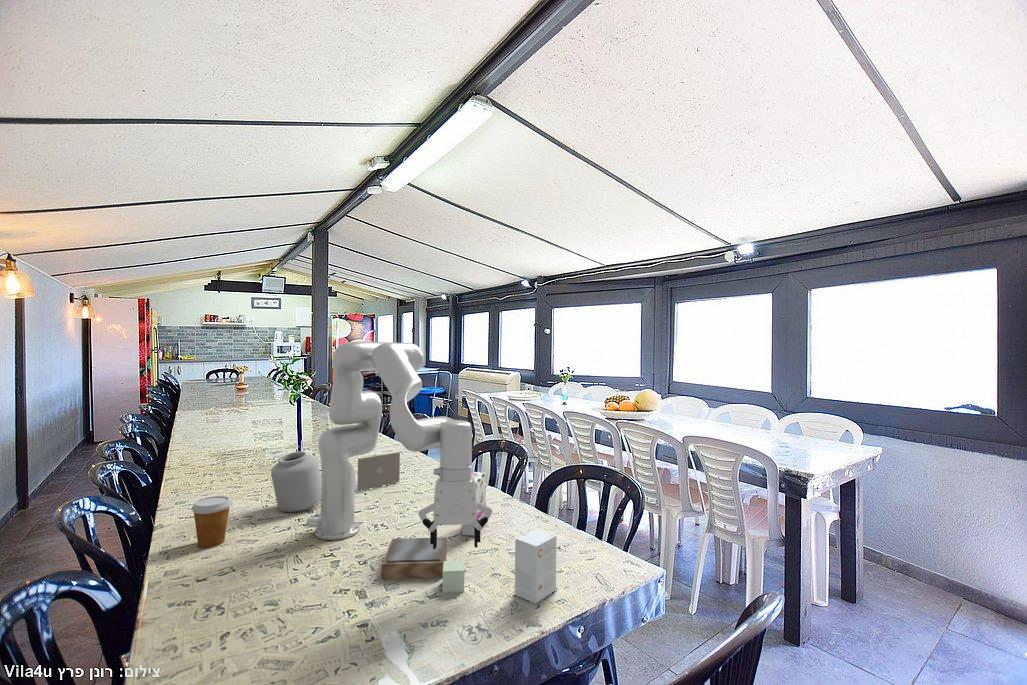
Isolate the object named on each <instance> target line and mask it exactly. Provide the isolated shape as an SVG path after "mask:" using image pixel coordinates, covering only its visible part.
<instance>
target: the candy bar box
mask: <svg viewBox="0 0 1027 685" xmlns="http://www.w3.org/2000/svg"><path fill="white" fill-rule="evenodd" d="M486 475H487V473H486V472H480V471H472V477H473V478H474V479H475V484H476V491H477V502H479V503H481V504H483V505H485V506H487V503H486V502H487V501H486V500H487V498H486V497H487V492H486V491H487V490H486V489H487V487H486V486H487V485H486V484H487V483H486V482H487V477H486ZM484 515H485V512H483V511H481V510H478V509H477V518H478V519H479V520H480V519H481V518H482V517H483V516H484ZM474 527H475V526H474V525H473V524H465V525H461V536H464V535H465V536H466V537H474ZM465 536H464V537H465Z"/></svg>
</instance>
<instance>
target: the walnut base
mask: <svg viewBox="0 0 1027 685" xmlns="http://www.w3.org/2000/svg"><path fill="white" fill-rule="evenodd" d="M447 552H448V537H447V536H446V537H437V547H436V548H435V549H433V544H430V537H413V538H412V537H410V538H409V537H408V538H392V539H391V541H390V543H389V545H388V549H387V551H386V552H385V553H386V554H385V556H384V559H383V561H382V563H381V580H396V579H398V580H399V579H426V578H427V579H428V578H429V579H431V578H443V564H444V561H447Z"/></svg>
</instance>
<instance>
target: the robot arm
mask: <svg viewBox="0 0 1027 685" xmlns="http://www.w3.org/2000/svg"><path fill="white" fill-rule="evenodd" d="M423 363H424V355H423V352H422V351H421V349H420V348H419V346H418V345H416V344H414V343H412V342H386V341H385V342H383V341H381V342H380V341H348V342H344V343H342V344H340V345H338V346H336V348H335V350H334V352H333V355H332V371H333V381H332V387H331V393H330V399H329V400H330V401H329V409H328V416H329V420H330V422H332V423H333V424H335V425H337V426H336V427H332V428H331V427H330V428H329V429H327V430H324V431H323V432H322V433H321V435H319V438H318V442H317V444H318V451H319V452H318V453H319V457H320V467H321V470H320V472H321V473H320V476H321V500H320V516H318V517H307V519H306V521H305V523H306V524H305V525H307V527H308V528H313V527H314V528H316V529H315V530H314V535H315V537H316V538H317V539H320V540H324V541H325V540H326V541H335V540H344V539H347V538H350V537H352V536H354V535H356V534H358V533H359V531H360V524H359V523H357V522H356V521H355V508H356V507H355V503H356V501H355V499H356V494H355V492H356V491H355V481H356V472H355V469H354V467H353V465H352V464H351V462H350V461H349V458H353V457H357V456H363V455H366V454H370V453H371V452H373V451H374V449H376V446H377V444H378V439H379V433H380V426H381V422H382V414H383V403H382V399H381V396H379V395H378V394H377V392H374V391H371V390H364V391H363V387H364V376H363V375H362V372H377V373H378V375H379V377H380V378H381V380H382V382H383V384H384V385H385V387H386V389H387V390H388V391H389V394H390V395H391V397H392V399H391V401H390V404H389V419H390V426H391V428H392V430H393V432H394V434H395V435H396V437H397V439H398V440H399V442H400V443H401V444H402V447H404V448H405V449H406V450H408V451H409V452H413V453H419V452H423V451H428V450H432V449H437V448H438V449H439V467H438V468H433V475H434V476H438V477H439V478H437V479H436V481H435V482H436V483H435V488H434V496H433V503H431V504H429V505H428V506H425V507H424V508H422V509H420V510H419V511H418V517H419V519H420V521H421V522H422V524H423V525H424V526H425V527H426V529H427V530H428V531H429V533H430V534H429V535H430V537H429V538H430V544H433V549H435V548H436V547H437V538H438V527H439V526H457V525H458V526H462V525H465V524H473V525H474V526H475V527H474V536H473V538H474V539H473V540H474V541H473V544H474V545H473V547H474V548H478V543H481V531H482V529H483V527H484V526H485V525H486V524H487V523H488V522H489V520H490V517H491V516H492V514H493V509H492V508H491V507H489V506H487V505H486V506H485V505H483V504H481V503H479V502H477V491H476V484H475V479H474V478H473V477H472V472H473V470H472V469H473V466H472V459H473V458H472V455H473V454H472V452H473V451H472V450H473V446H472V445H473V444H472V442H473V440H472V439H473V431H472V430H473V427H472V424H471V422H469V421H467V420H463V419H462V420H461V419H453V418H451V417H448V416H445V415H444V416H441V415H440V416H434V417H425V418H421V419H416V418H415V417H414V415H413V414H412V412H411V411H410V408H409V407H408V402H410V401H411V400H412V399H414V398H415V397H416V396H417V395H418V394H419V393H420V392H421V390H422V388H423V381H422V379H421V378H420V377H419V375H418V373H417V371H419V370H421V369H422V367H423ZM341 425H342V426H341ZM477 509H478V510H481V511H483V512H485V515H484V516H483V517H482V518H481V519H480V520H479V519H478V518H477ZM431 512H433V520H430V519H429V518H428V517H427V515H428V514H430V513H431Z"/></svg>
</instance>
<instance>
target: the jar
mask: <svg viewBox="0 0 1027 685" xmlns="http://www.w3.org/2000/svg"><path fill="white" fill-rule="evenodd" d="M290 438H291V439H290V441H293V436H290ZM294 444H295V446H297V447H298V448H300V445H297V443H294ZM300 449H301V450H302V449H303V448H300ZM279 450H280V452H281V451H282V450H281V448H278V451H279ZM320 472H321V470H320V468H319V461H318V459H317V458H316V457H315V456H313V455H311V454H308V452H306V451H305V450H304V451H303V450H302V451H299V450H298V451H293V452H290V453H287V454H284V455H283V456H282V455H281V457H279V458H278V459H277V463H276V464H274V466H273V467H272V468H271V471H270V476H271V480H272V484H273V490H274V494H275V500H276V504H277V507H278V509H279V510H280V511H282V512H285V513H297V512H302V511H306V510H307V509H310V508H312V507H315V506H316V505H317V504H319V502H321V473H320ZM274 518H275V519H276V516H274Z"/></svg>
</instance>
